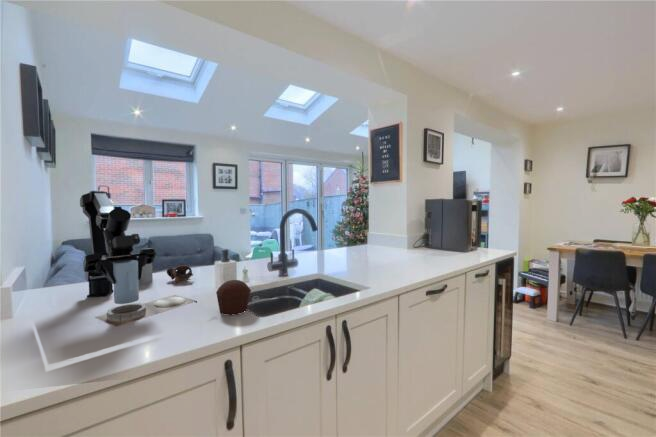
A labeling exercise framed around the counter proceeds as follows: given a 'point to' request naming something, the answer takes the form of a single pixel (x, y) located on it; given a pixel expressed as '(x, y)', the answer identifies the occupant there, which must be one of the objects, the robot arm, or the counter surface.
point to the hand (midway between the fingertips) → (127, 281)
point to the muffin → (233, 297)
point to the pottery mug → (179, 273)
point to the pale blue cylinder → (126, 282)
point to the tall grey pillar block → (146, 274)
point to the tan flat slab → (142, 310)
